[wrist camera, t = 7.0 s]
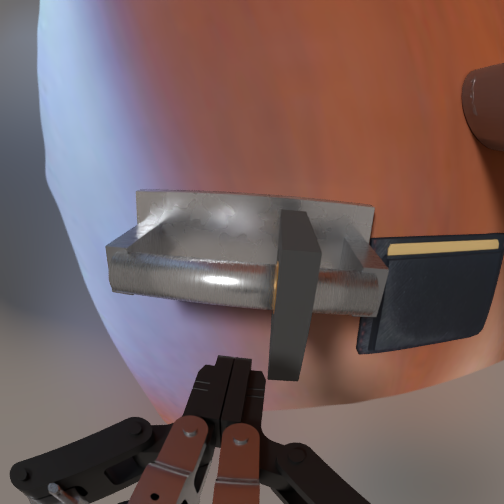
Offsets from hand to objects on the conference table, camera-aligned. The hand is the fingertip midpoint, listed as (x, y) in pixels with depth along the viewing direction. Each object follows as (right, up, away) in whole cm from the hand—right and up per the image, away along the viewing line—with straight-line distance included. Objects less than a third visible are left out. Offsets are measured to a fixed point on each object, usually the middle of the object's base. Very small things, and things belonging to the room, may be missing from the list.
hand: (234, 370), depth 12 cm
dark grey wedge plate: (+4, +4, +12) cm, 13 cm away
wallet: (+22, +1, +16) cm, 28 cm away
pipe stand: (+1, +6, +15) cm, 16 cm away
